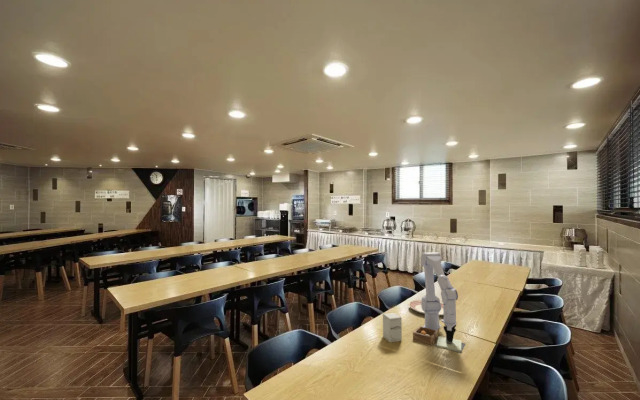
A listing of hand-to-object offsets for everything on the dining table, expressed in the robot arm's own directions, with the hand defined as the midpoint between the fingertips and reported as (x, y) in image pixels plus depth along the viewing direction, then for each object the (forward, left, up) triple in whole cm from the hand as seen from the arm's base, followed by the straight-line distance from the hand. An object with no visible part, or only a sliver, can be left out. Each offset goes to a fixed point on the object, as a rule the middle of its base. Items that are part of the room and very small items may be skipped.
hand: (450, 339), depth 139 cm
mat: (0, 0, -3) cm, 3 cm away
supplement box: (+12, -26, -3) cm, 29 cm away
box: (+1, -12, -3) cm, 12 cm away
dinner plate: (-43, -23, -3) cm, 49 cm away
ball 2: (+3, -10, -2) cm, 11 cm away
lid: (0, 0, -2) cm, 3 cm away
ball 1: (0, -14, -2) cm, 14 cm away
